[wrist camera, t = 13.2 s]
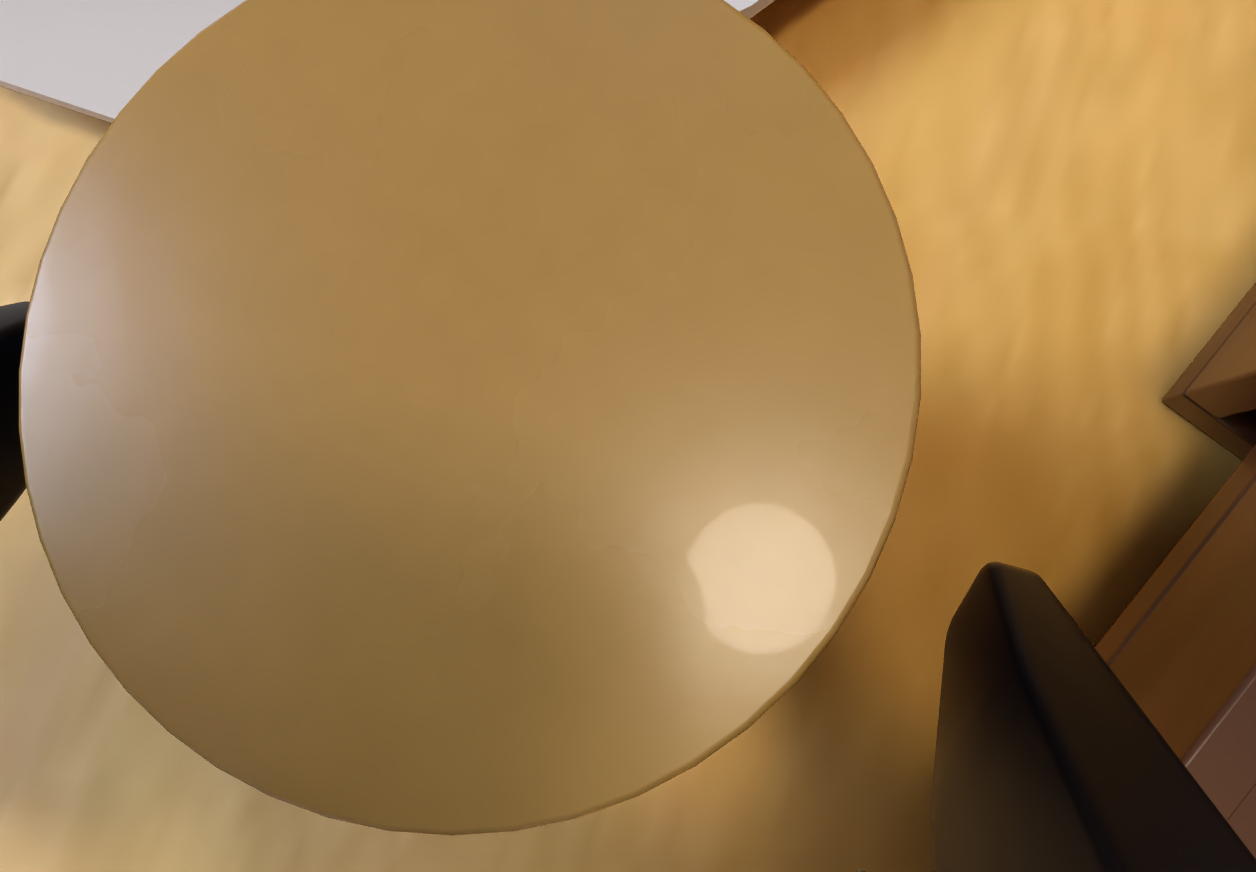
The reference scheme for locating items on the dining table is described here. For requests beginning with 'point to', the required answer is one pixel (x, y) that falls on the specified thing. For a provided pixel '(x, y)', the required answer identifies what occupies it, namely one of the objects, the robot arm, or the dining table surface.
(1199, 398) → the brown box
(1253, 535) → the drawer
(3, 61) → the plated food
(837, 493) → the tea tin
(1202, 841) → the robot arm
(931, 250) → the dining table surface
